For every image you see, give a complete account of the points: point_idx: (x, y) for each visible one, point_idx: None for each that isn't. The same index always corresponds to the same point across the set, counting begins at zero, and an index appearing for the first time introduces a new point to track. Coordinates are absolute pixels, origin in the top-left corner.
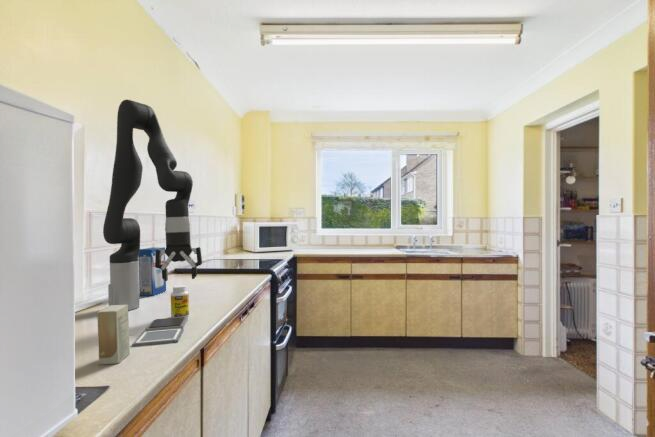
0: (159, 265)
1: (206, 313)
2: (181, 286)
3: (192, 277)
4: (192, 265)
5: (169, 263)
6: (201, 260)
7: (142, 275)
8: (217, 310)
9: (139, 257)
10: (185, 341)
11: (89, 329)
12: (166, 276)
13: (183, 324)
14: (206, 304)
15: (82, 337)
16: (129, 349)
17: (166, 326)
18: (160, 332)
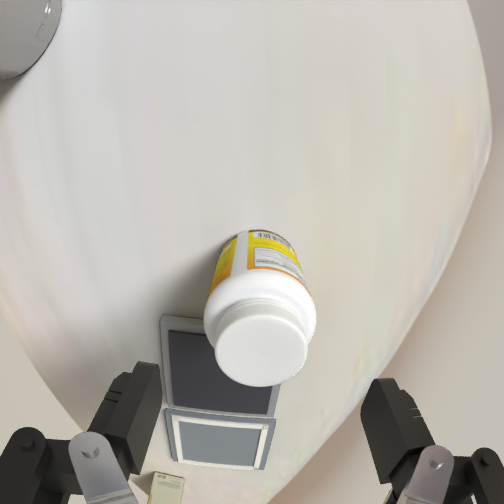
0: (67, 489)
1: (370, 248)
2: (276, 366)
3: (366, 422)
4: (394, 502)
5: (136, 500)
6: (497, 480)
7: None
8: (417, 214)
9: None
10: (279, 465)
11: (6, 296)
12: (153, 424)
13: (275, 406)
14: (378, 59)
15: (32, 359)
16: (183, 484)
17: (225, 410)
18: (215, 429)
